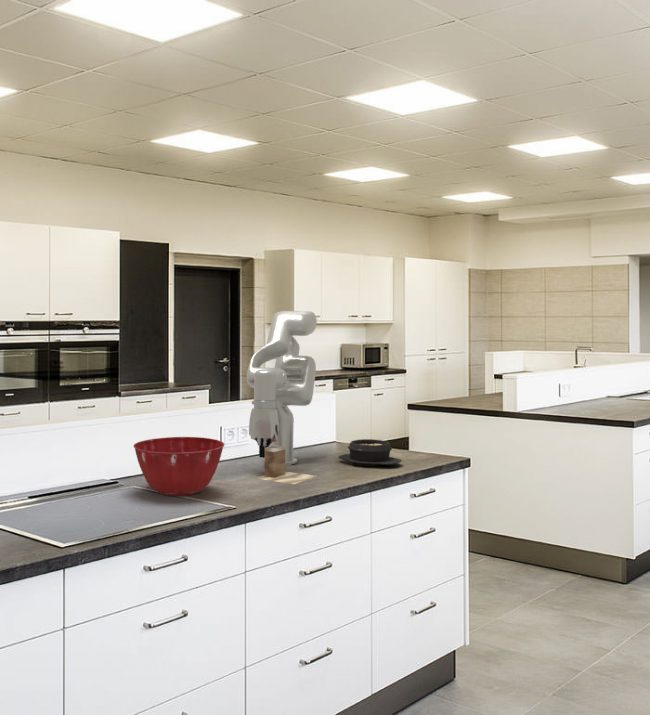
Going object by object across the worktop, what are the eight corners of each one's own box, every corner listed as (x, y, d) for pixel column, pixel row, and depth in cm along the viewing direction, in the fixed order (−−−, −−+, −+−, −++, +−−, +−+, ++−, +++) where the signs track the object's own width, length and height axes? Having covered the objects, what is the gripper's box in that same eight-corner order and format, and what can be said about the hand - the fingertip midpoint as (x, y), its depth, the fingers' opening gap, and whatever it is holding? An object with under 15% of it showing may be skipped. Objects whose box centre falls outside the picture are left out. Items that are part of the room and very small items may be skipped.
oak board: (254, 480, 282) (254, 478, 282) (279, 472, 295) (279, 470, 295) (294, 485, 274) (294, 484, 274) (318, 477, 288) (318, 476, 288)
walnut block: (264, 476, 285) (264, 447, 284) (275, 473, 291) (275, 445, 290) (274, 477, 283) (274, 449, 282) (284, 474, 289) (285, 446, 288)
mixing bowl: (181, 506, 243) (182, 454, 242) (113, 493, 258) (113, 444, 257) (241, 490, 266) (242, 442, 265) (176, 478, 282) (176, 433, 281)
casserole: (329, 464, 314) (329, 442, 313) (351, 456, 330) (352, 436, 329) (388, 471, 301) (389, 448, 301) (409, 463, 318) (409, 442, 317)
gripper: (241, 404, 288) (240, 456, 289) (276, 407, 281) (275, 460, 282) (253, 402, 295) (252, 453, 296) (288, 405, 287) (287, 457, 288)
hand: (263, 456), depth 289 cm, fingers closed
